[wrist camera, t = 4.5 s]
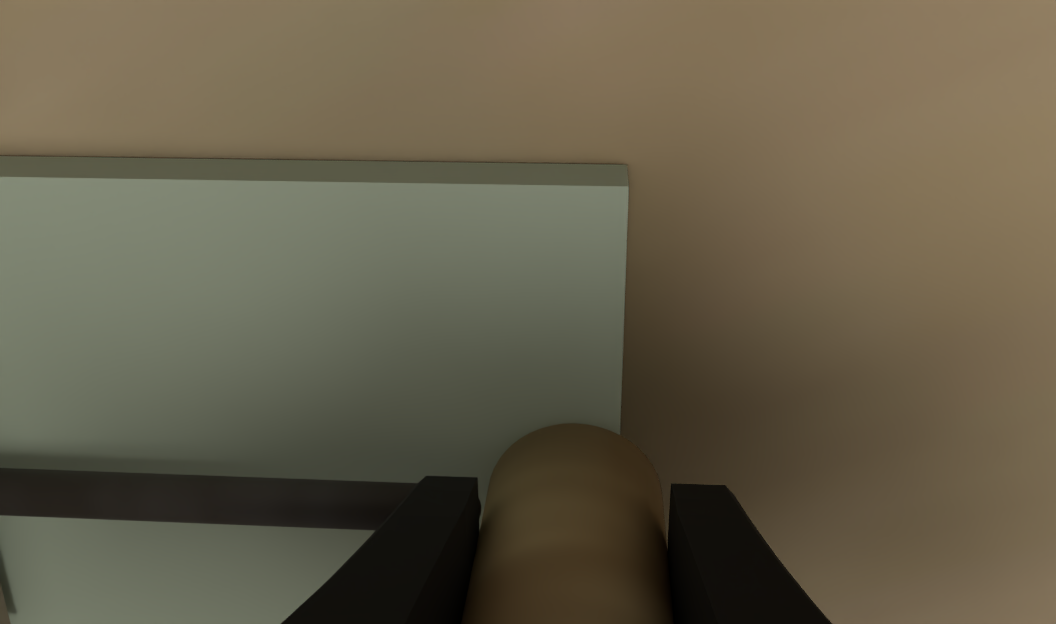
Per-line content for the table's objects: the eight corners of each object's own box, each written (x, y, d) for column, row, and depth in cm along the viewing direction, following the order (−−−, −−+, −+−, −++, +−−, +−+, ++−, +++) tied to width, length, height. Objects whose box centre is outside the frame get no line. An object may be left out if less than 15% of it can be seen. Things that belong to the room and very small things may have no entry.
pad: (627, 164, 12) (628, 186, 11) (609, 675, 15) (609, 725, 14) (-75, 154, 13) (-128, 174, 12) (44, 647, 16) (9, 693, 15)
